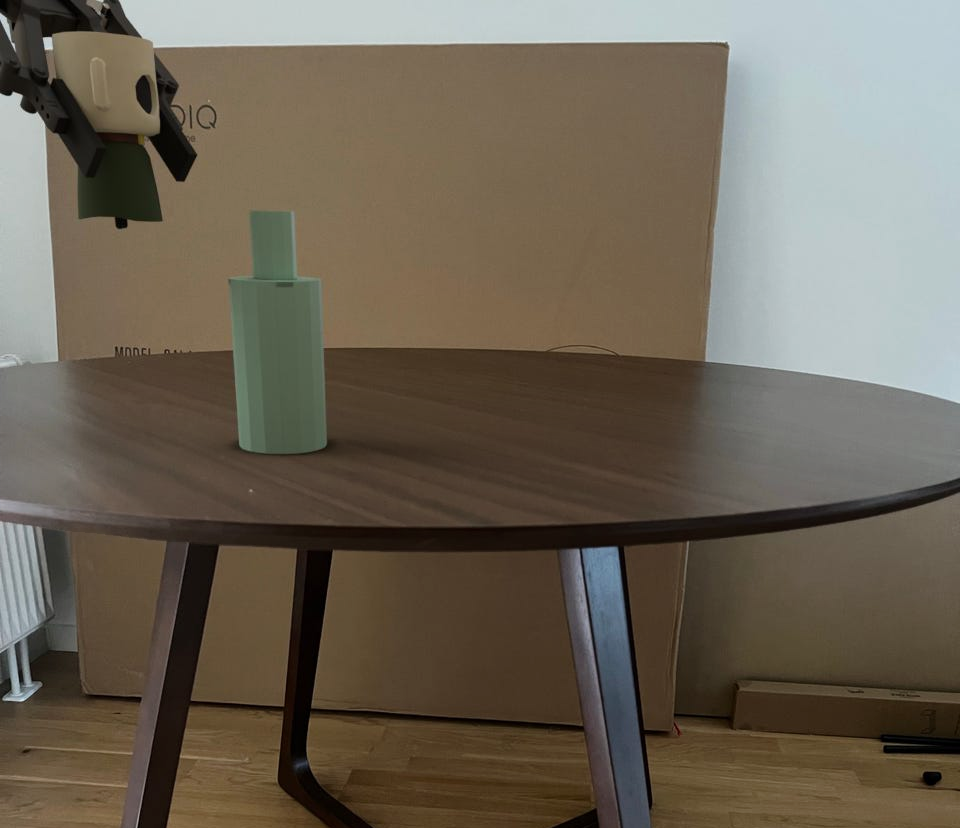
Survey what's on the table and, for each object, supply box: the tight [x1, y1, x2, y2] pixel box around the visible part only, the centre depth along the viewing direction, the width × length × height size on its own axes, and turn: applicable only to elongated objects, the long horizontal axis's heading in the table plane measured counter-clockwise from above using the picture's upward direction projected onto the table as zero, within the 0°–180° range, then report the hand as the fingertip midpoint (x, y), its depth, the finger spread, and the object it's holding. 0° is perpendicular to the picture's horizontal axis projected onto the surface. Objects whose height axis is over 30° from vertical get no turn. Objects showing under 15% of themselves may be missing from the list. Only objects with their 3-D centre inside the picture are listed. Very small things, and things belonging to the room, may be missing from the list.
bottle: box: [227, 209, 328, 455], centre depth 84 cm, size 7×7×19 cm
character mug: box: [51, 32, 164, 230], centre depth 78 cm, size 11×7×13 cm, turn 12°
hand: (142, 165), depth 77 cm, fingers closed on character mug, 7 cm apart
